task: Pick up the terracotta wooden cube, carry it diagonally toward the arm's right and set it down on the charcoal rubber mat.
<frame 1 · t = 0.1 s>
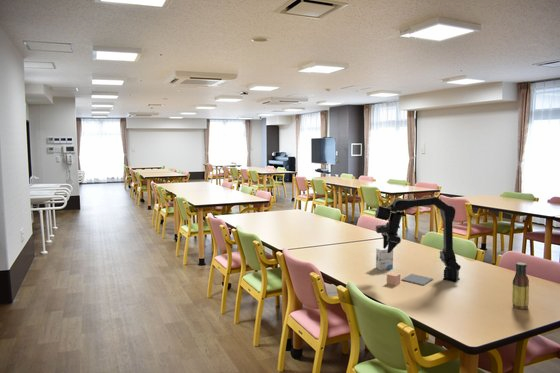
hand: (386, 250, 217), 15 cm above the table, tool pointing down, fingers open, 9 cm apart
ink box: (384, 268, 238), on the table
sauce bottle: (519, 307, 180), on the table
charcoal mat: (417, 280, 217), on the table
terracotta cube: (393, 283, 212), on the table
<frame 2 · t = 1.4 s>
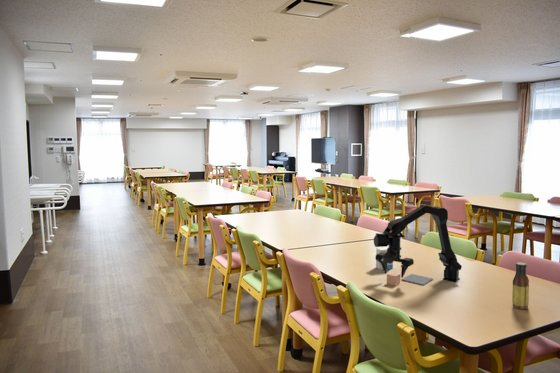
hand: (393, 275, 212), 4 cm above the table, tool pointing down, fingers open, 9 cm apart
nothing on the table moved.
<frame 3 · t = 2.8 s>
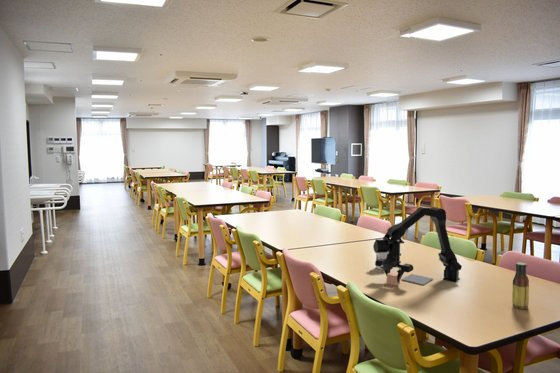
hand: (393, 281, 212), 1 cm above the table, tool pointing down, fingers closed on terracotta cube, 5 cm apart
terracotta cube: (393, 283, 212), on the table, touching gripper
everything else where it was.
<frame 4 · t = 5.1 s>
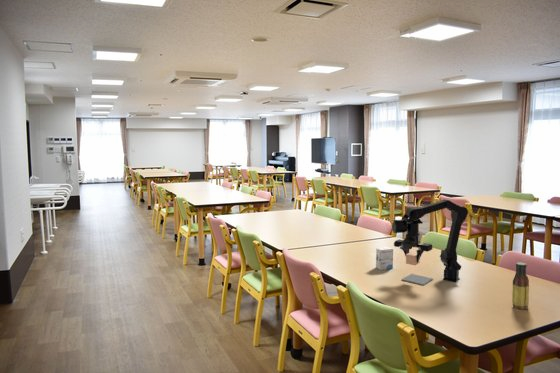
hand: (412, 261, 215), 10 cm above the table, tool pointing down, fingers closed on terracotta cube, 5 cm apart
terracotta cube: (412, 263, 215), point 9 cm above the table, touching gripper
everything else where it was.
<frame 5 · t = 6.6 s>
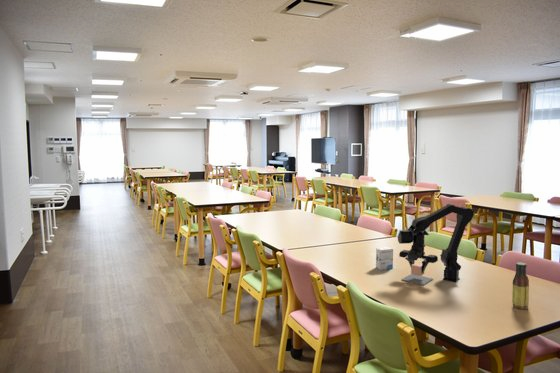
hand: (417, 272, 217), 4 cm above the table, tool pointing down, fingers closed on terracotta cube, 5 cm apart
terracotta cube: (417, 274, 217), point 3 cm above the table, touching gripper
everything else where it was.
when the fingers open (3 cm above the table, at t = 7.7 s): terracotta cube drops 1 cm, resting on charcoal mat.
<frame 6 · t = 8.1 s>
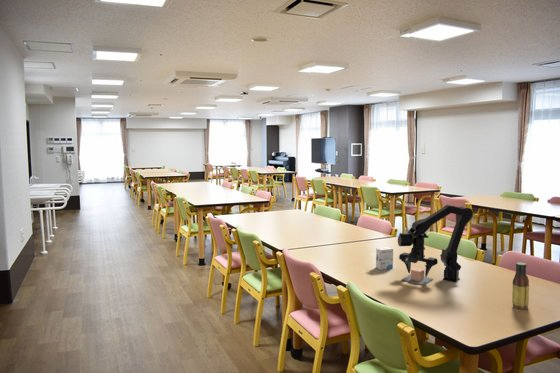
hand: (417, 274, 217), 3 cm above the table, tool pointing down, fingers open, 9 cm apart
terracotta cube: (417, 278, 217), point 1 cm above the table, touching charcoal mat
everything else where it was.
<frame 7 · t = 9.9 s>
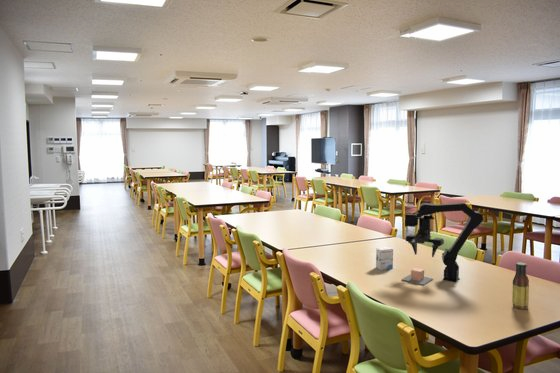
hand: (424, 255, 220), 12 cm above the table, tool pointing down, fingers open, 9 cm apart
nothing on the table moved.
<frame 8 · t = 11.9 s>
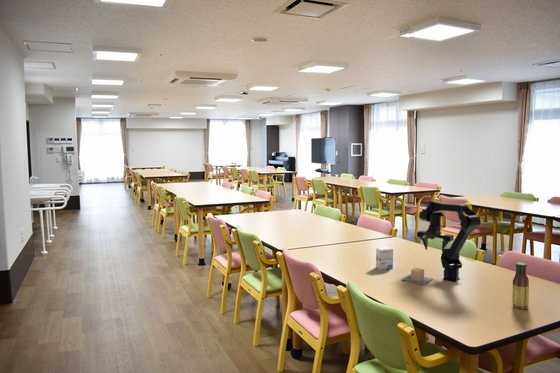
hand: (434, 251, 229), 12 cm above the table, tool pointing down, fingers open, 9 cm apart
nothing on the table moved.
at the end: terracotta cube inside the target area on the charcoal mat (0.0 cm from its centre), point 0.6 cm above the charcoal mat's base; terracotta cube tilted 0°; the gripper is holding nothing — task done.
